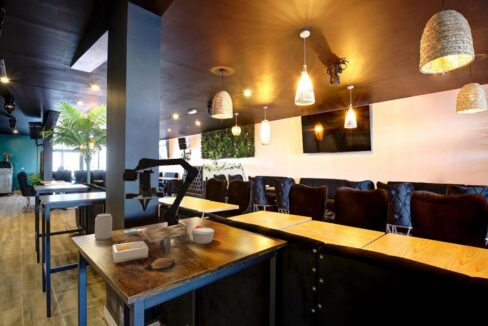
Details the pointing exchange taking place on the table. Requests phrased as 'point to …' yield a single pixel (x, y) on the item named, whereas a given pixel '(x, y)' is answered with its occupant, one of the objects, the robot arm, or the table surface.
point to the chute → (163, 233)
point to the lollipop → (200, 223)
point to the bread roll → (161, 265)
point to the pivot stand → (166, 244)
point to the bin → (130, 251)
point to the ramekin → (202, 235)
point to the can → (103, 226)
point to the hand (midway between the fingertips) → (144, 211)
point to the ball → (124, 248)
